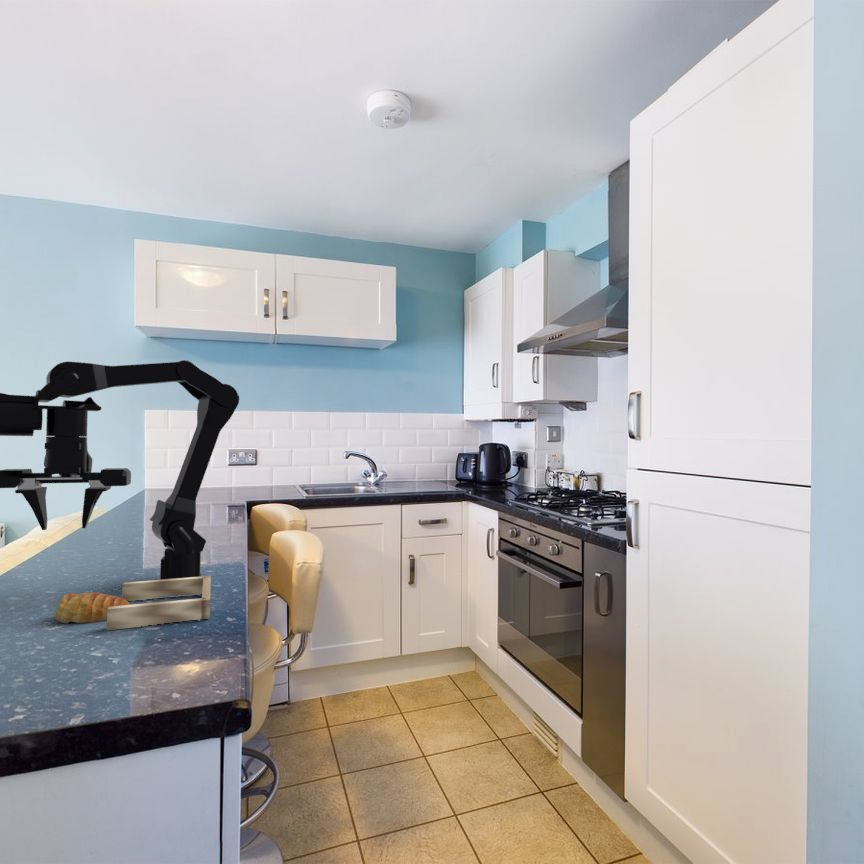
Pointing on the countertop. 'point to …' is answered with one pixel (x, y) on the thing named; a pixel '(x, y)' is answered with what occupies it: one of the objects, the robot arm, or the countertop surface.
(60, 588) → the countertop surface
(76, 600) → the pastry
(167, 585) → the beige piece
